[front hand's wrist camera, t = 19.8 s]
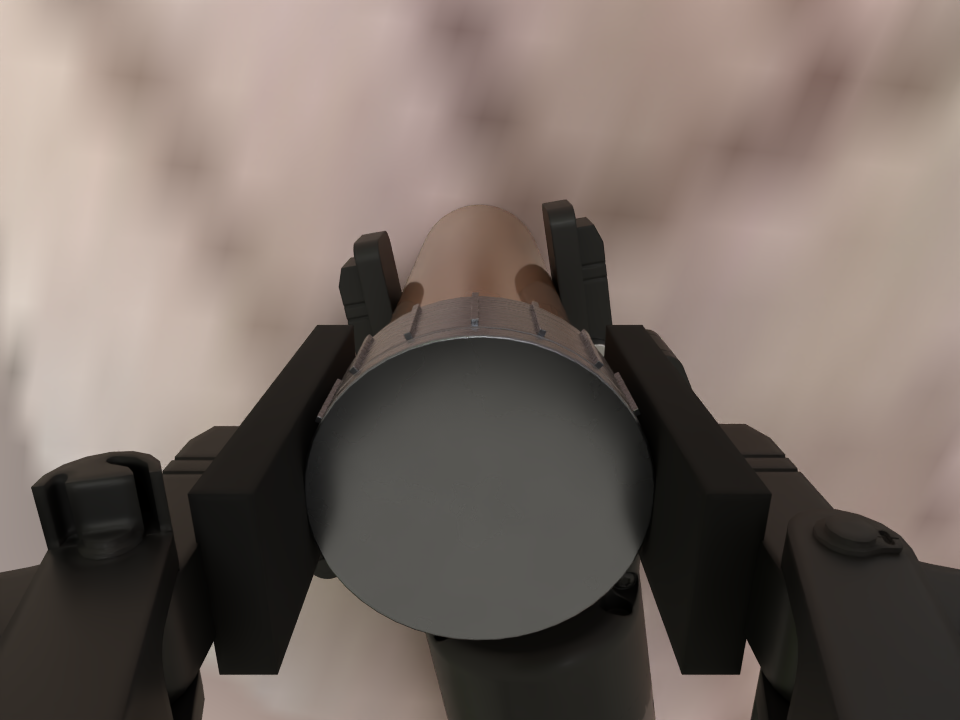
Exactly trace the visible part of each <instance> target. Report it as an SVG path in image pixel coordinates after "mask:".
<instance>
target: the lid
mask: <svg viewBox="0 0 960 720" xmlns="http://www.w3.org/2000/svg"><path fill="white" fill-rule="evenodd" d="M640 414H641V413H640V411H639V409H638V407H637V405H636V403H635V402H634V400H633V398H632V396H631V394H630V392H629V390H628V389H627V387H626V385H625V383H624V381H623V379H622V377H621V376H620V374H619V372H617V373H615V374H614V373H613V371H612V369H611V368H610V366H609V364H608V363H607V361H606V359H605V358H604V356H603V355H602V354H601V353H600V352H599V350H598V349H597V348H596V347H595V346H594V344H593V342H592V340H591V338H590V336H589V334H588V332H587V331H585V330H584V329H583V330H582V331H581V332H580V331H579V330H578V329H576V328H575V327H573V326H572V325H570V324H569V323H568V322H566V321H565V320H563V319H562V318H560V317H558V316H556V315H554V314H552V313H550V312H548V311H546V310H544V309H542V308H540V307H539V304H538V302H535V301H532V303H531V305H530V304H528V303H525V302H521V301H516V300H511V299H507V298H499V297H487V296H479V293H478V292H472V297H459V298H453V299H448V300H442V301H438V302H435V303H432V304H429V305H425V306H422V307H420V305H419V304H416V305H414V306H413V308H412V311H411V312H409V313H407V314H405V315H403V316H401V317H399V318H398V319H396V320H395V321H393V322H391V323H390V324H388V325H387V326H385V327H384V328H383V329H382V330H381V331H379V332H378V333H377V334H376V335H375V336H373V337H372V336H371V335H370V334H369V335H368V336H367V337H366V338H365V340H364V342H363V344H362V346H361V348H360V350H359V352H358V353H357V355H356V357H355V358H354V360H353V361H352V363H351V364H350V366H349V367H348V369H347V371H346V373H345V375H344V377H343V379H342V380H340V379H337V380H336V382H335V384H334V386H333V387H332V389H331V391H330V393H329V395H328V397H327V399H326V400H325V402H324V404H323V406H322V408H321V410H320V412H319V413H318V415H317V417H316V420H315V422H317V423H319V425H318V427H317V429H316V431H315V433H314V436H313V438H312V441H311V444H310V447H309V451H308V454H307V457H306V464H305V471H304V492H305V502H306V510H307V519H308V523H309V526H310V529H311V532H312V535H313V538H314V540H315V542H316V544H317V547H318V549H319V551H320V553H321V555H322V556H323V558H324V559H325V561H326V562H327V564H328V566H329V567H330V569H331V570H332V572H333V573H334V574H335V575H336V576H337V577H338V579H339V580H340V581H341V582H342V583H343V584H344V585H345V587H346V588H348V589H349V590H350V591H351V592H352V593H353V594H354V595H355V596H357V597H358V598H359V599H360V600H361V601H362V602H364V603H365V604H367V605H368V606H370V607H371V608H372V609H374V610H375V611H377V612H378V613H380V614H382V615H384V616H386V617H388V618H389V619H391V620H393V621H395V622H397V623H400V624H402V625H405V626H407V627H410V628H412V629H415V630H418V631H422V632H425V633H429V634H432V635H436V636H442V637H448V638H453V639H465V640H497V639H504V638H511V637H518V636H522V635H526V634H530V633H534V632H538V631H541V630H544V629H546V628H549V627H552V626H555V625H557V624H559V623H561V622H564V621H566V620H568V619H570V618H572V617H574V616H576V615H577V614H579V613H580V612H582V611H583V610H585V609H587V608H588V607H590V606H591V605H593V604H594V603H595V602H596V601H598V600H599V599H600V598H601V597H602V596H604V595H605V594H606V593H607V592H608V591H609V590H610V589H611V588H612V587H613V586H614V585H615V584H616V583H617V582H618V581H619V580H620V579H621V578H622V577H623V575H624V574H625V572H626V571H627V570H628V568H629V567H630V566H631V564H632V563H633V561H634V560H635V558H636V556H637V554H638V552H639V550H640V549H641V547H642V545H643V543H644V540H645V537H646V535H647V532H648V529H649V526H650V524H651V519H652V514H653V506H654V497H655V472H654V463H653V459H652V455H651V451H650V447H649V444H648V441H647V439H646V436H645V434H644V432H643V429H642V427H641V425H640V423H639V421H638V419H637V417H636V416H638V415H640Z"/></svg>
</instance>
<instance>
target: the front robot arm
mask: <svg viewBox="0 0 960 720" xmlns="http://www.w3.org/2000/svg"><path fill="white" fill-rule="evenodd" d="M355 357H356V355H355V340H354V326H353V325H317V326H316V327H315V329H314V330H313V331H312V333H311V334H310V335H309V336H308V338H307V339H306V340H305V342H304V343H303V344H302V346H301V347H300V348H299V349H298V351H297V352H296V353H295V355H294V356H293V357H292V359H291V360H290V361H289V362H288V364H287V365H286V366H285V368H284V369H283V370H282V372H281V373H280V374H279V375H278V377H277V378H276V379H275V381H274V382H273V383H272V385H271V386H270V387H269V388H268V390H267V391H266V392H265V394H264V395H263V396H262V398H261V399H260V400H259V401H258V403H257V404H256V405H255V407H254V408H253V409H252V411H251V412H250V413H249V414H248V416H247V417H246V418H245V420H244V421H243V422H242V424H241V425H240V426H214V427H212V428H211V429H209V430H207V431H205V432H204V433H202V434H200V435H198V436H197V437H195V438H193V439H191V440H190V441H189V442H188V443H187V444H186V445H185V446H184V447H183V448H182V450H181V451H180V452H179V453H178V454H177V455H176V456H175V460H172V461H171V462H170V463H169V464H168V465H167V466H166V468H165V469H164V470H163V473H162V470H161V464H160V461H159V460H157V459H156V458H155V457H153V456H152V455H150V454H145V453H140V452H135V451H125V452H108V453H103V454H98V455H93V456H87V457H84V458H81V459H79V460H76V461H73V462H70V463H67V464H64V465H62V466H60V467H58V468H56V469H54V470H53V471H51V472H49V473H47V474H45V475H44V476H42V477H41V478H40V479H39V480H38V481H37V482H36V483H35V484H34V485H33V486H32V487H31V489H32V492H33V496H34V500H35V503H36V507H37V511H38V514H39V518H40V522H41V525H42V529H43V533H44V536H45V540H46V544H47V547H48V551H47V553H46V555H45V556H44V558H43V560H42V562H41V564H40V565H36V566H32V567H28V568H22V569H17V570H12V571H6V572H1V573H0V720H202V714H203V707H204V700H205V699H204V691H203V684H202V679H201V674H200V667H201V665H202V663H203V661H204V659H205V657H206V655H207V653H208V651H209V649H210V647H211V645H212V643H213V641H214V646H215V651H216V657H217V663H218V668H219V674H220V675H278V672H279V669H280V666H281V664H282V661H283V658H284V655H285V653H286V650H287V647H288V644H289V642H290V639H291V636H292V633H293V630H294V628H295V625H296V622H297V619H298V617H299V614H300V611H301V608H302V605H303V603H304V600H305V597H306V594H307V592H308V589H309V586H310V583H311V580H312V578H313V575H314V572H315V569H316V567H317V564H318V561H319V558H320V555H321V553H320V551H319V549H318V547H317V544H316V542H315V540H314V538H313V535H312V532H311V529H310V526H309V523H308V519H307V510H306V502H305V492H304V471H305V464H306V457H307V454H308V451H309V447H310V444H311V441H312V438H313V436H314V433H315V431H316V429H317V427H318V425H319V423H317V422H315V420H316V417H317V415H318V413H319V412H320V410H321V408H322V406H323V404H324V402H325V400H326V399H327V397H328V395H329V393H330V391H331V389H332V387H333V386H334V384H335V382H336V380H337V379H340V380H342V379H343V377H344V375H345V373H346V371H347V369H348V367H349V366H350V364H351V363H352V361H353V360H354V358H355ZM604 358H605V359H606V361H607V363H608V364H609V366H610V368H611V369H612V371H613V373H614V374H615V373H617V372H619V374H620V376H621V377H622V379H623V381H624V383H625V385H626V387H627V389H628V390H629V392H630V394H631V396H632V398H633V400H634V402H635V403H636V405H637V407H638V409H639V411H640V413H641V414H640V415H638V416H636V417H637V419H638V421H639V423H640V425H641V427H642V429H643V432H644V434H645V436H646V439H647V441H648V444H649V447H650V451H651V455H652V459H653V463H654V472H655V497H654V506H653V514H652V519H651V524H650V526H649V529H648V532H647V535H646V537H645V540H644V543H643V545H642V547H641V549H640V550H639V552H638V554H639V557H640V559H641V562H642V565H643V568H644V570H645V573H646V576H647V579H648V582H649V584H650V587H651V590H652V593H653V595H654V598H655V601H656V604H657V607H658V609H659V612H660V615H661V618H662V620H663V623H664V626H665V629H666V632H667V634H668V637H669V640H670V643H671V645H672V648H673V651H674V654H675V657H676V659H677V662H678V665H679V668H680V670H681V673H682V675H740V671H741V666H742V660H743V655H744V649H745V643H746V639H747V641H748V643H749V645H750V647H751V649H752V651H753V653H754V655H755V657H756V659H757V661H758V662H759V664H760V666H761V668H760V674H759V679H758V684H757V689H756V695H755V700H754V705H753V710H752V716H751V720H960V569H954V568H949V567H944V566H938V565H933V564H928V563H924V562H920V561H918V559H917V557H916V555H915V553H914V552H913V550H912V548H911V547H910V546H909V545H908V544H907V543H906V541H905V540H904V539H903V538H902V537H901V536H900V535H899V534H897V533H896V532H894V531H892V530H891V529H889V528H888V527H886V526H885V525H883V524H881V523H879V522H876V521H874V520H872V519H869V518H867V517H864V516H862V515H859V514H855V513H850V512H846V511H841V510H837V509H833V508H832V506H831V505H830V504H829V503H828V502H827V501H826V500H825V499H824V497H823V496H822V495H821V494H820V493H819V492H818V491H817V490H816V489H815V487H814V486H813V485H812V484H811V483H810V482H809V481H808V480H807V479H806V477H805V476H804V475H803V474H802V473H801V472H798V471H797V467H796V466H795V465H794V464H793V463H792V462H791V461H790V460H789V458H785V454H784V453H783V452H782V451H781V449H780V448H779V447H778V446H777V445H776V444H775V443H774V442H773V441H772V439H771V438H769V437H767V436H766V435H764V434H762V433H760V432H759V431H757V430H755V429H753V428H752V427H750V426H748V425H746V424H718V423H717V422H716V420H715V419H714V418H713V416H712V415H711V414H710V412H709V411H708V410H707V409H706V407H705V406H704V405H703V403H702V402H701V401H700V399H699V398H698V397H697V396H696V394H695V393H694V392H693V390H692V389H691V388H690V386H689V385H688V384H687V383H686V381H685V380H684V379H683V377H682V376H681V375H680V373H679V372H678V371H677V370H676V368H675V367H674V366H673V364H672V363H671V362H670V360H669V359H668V358H667V357H666V355H665V354H664V353H663V351H662V350H661V349H660V347H659V346H658V345H657V344H656V342H655V341H654V340H653V338H652V337H651V336H650V334H649V333H648V332H647V331H646V329H645V328H644V327H643V325H606V335H605V349H604Z"/></svg>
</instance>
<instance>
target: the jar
mask: <svg viewBox="0 0 960 720" xmlns="http://www.w3.org/2000/svg"><path fill="white" fill-rule="evenodd" d="M472 292H478V293H479V296H487V297H499V298H507V299H511V300H516V301H521V302H525V303H528V304H530V305H531V303H532V301H535V302H538V304H539V307H540V308H542V309H544V310H546V311H548V312H550V313H552V314H554V315H556V316H558V317H560V318H562V319H563V320H565V321H566V322H568V323H569V324H570V325H571V323H570V321H569V319H568V316H567V314H566V312H565V310H564V307H563V305H562V303H561V300H560V298H559V296H558V293H557V291H556V289H555V286H554V284H553V282H552V280H551V277H550V275H549V273H548V270H547V268H546V266H545V263H544V261H543V259H542V256H541V254H540V252H539V249H538V247H537V245H536V243H535V240H534V238H533V236H532V234H531V233H530V231H529V230H528V228H527V227H526V226H525V225H524V224H523V223H522V222H521V221H520V220H519V219H518V218H517V217H515V216H514V215H513V214H511V213H509V212H507V211H505V210H503V209H500V208H497V207H493V206H488V205H472V206H466V207H463V208H459V209H457V210H455V211H452V212H451V213H449V214H447V215H446V216H444V217H443V218H442V219H441V220H439V221H438V222H437V223H436V225H435V226H434V227H433V228H432V229H431V231H430V232H429V234H428V236H427V238H426V240H425V242H424V244H423V246H422V249H421V251H420V253H419V255H418V258H417V260H416V262H415V265H414V267H413V269H412V271H411V274H410V276H409V278H408V281H407V283H406V285H405V287H404V290H403V292H402V294H401V297H400V299H399V301H398V303H397V306H396V308H395V310H394V313H393V315H392V317H391V319H390V322H389V324H390V323H391V322H393V321H395V320H396V319H398V318H399V317H401V316H403V315H405V314H407V313H409V312H411V311H412V308H413V306H414V305H416V304H419V305H420V307H422V306H425V305H429V304H432V303H435V302H438V301H442V300H448V299H453V298H459V297H472Z"/></svg>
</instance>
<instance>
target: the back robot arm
mask: <svg viewBox="0 0 960 720" xmlns="http://www.w3.org/2000/svg"><path fill="white" fill-rule="evenodd" d="M542 211H543V219H544V226H545V233H546V241H547V248H548V255H549V262H550V269H551V277H552V282H553V284H554V286H555V289H556V291H557V293H558V296H559V298H560V300H561V303H562V305H563V307H564V310H565V312H566V314H567V316H568V319H569V321H570V323H571V325H572V326H573V327H575V328H576V329H578V330H579V331H580V332H581V331H582V330H583V329H584V330H585V331H587V332H588V334H589V336H590V338H591V340H592V342H593V344H594V346H595V347H596V348H597V349H598V350H599V352H600V353H601V354H602V355H603V356H604V349H605V335H606V325H612V318H611V309H610V300H609V290H608V281H607V272H606V264H605V254H604V245H603V241H602V239H601V237H600V235H599V233H598V232H597V230H596V228H595V226H594V225H593V224H592V223H591V222H590V221H589V220H588V219H587V218H586V217H584V218H578V219H576V218H575V213H574V209H573V206H572V205H571V204H570V203H569V202H568V201H567V200H560V201H555V202H549V203H543V204H542ZM339 290H340V294H341V297H342V301H343V305H344V309H345V313H346V317H347V319H348V325H353V326H354V340H355V352H356V355H357V353H358V352H359V350H360V348H361V346H362V344H363V342H364V340H365V338H366V337H367V336H368V335H369V334H370V335H371V336H372V337H373V336H375V335H376V334H377V333H378V332H379V331H381V330H382V329H383V328H384V327H385V326H387V325H388V324H389V322H390V319H391V317H392V315H393V313H394V310H395V308H396V306H397V303H398V301H399V299H400V297H401V294H402V292H401V287H400V283H399V278H398V274H397V270H396V265H395V261H394V256H393V252H392V247H391V243H390V239H389V236H388V234H387V232H386V231H382V232H376V233H371V234H365V235H362V236H361V237H360V238H359V239H358V240H357V241H356V242H355V243H354V257H352V258H350V259H349V260H348V261H347V263H346V264H345V265H344V266H343V267H342V268H341V275H340V282H339ZM646 331H647V332H648V333H649V334H650V336H651V337H652V338H653V340H654V341H655V342H656V344H657V345H658V346H659V347H660V349H661V350H662V351H663V353H664V354H665V355H666V357H667V358H668V359H669V360H670V362H671V363H672V364H673V366H674V367H675V368H676V370H677V371H678V372H679V373H680V375H681V376H682V377H683V379H684V380H685V381H686V383H687V384H688V385H689V386H690V388H691V385H690V383H689V380H688V378H687V375H686V373H685V370H684V367H683V365H682V364H681V362H680V361H679V360H678V359H677V357H676V356H675V355H674V354H673V352H672V351H671V350H670V349H669V347H668V346H667V345H666V344H665V342H664V341H663V340H662V339H661V338H660V336H659V335H658V334H657V333H655V332H654V331H651V330H647V329H646ZM691 389H692V388H691ZM640 560H641V559H640V557H639V554H637V556H636V558H635V560H634V561H633V563H632V564H631V566H630V567H629V568H628V570H627V571H626V572H625V574H624V575H623V577H622V578H621V579H620V580H619V581H618V582H617V583H616V584H615V585H614V586H613V587H612V588H611V589H610V590H609V591H608V592H607V593H606V594H605V595H604V596H602V597H601V598H600V599H599V600H598V601H596V602H595V603H594V604H593V605H591V606H590V607H588V608H587V609H585V610H583V611H582V612H580V613H579V614H577V615H576V616H574V617H572V618H570V619H568V620H566V621H564V622H561V623H559V624H557V625H555V626H552V627H549V628H546V629H544V630H541V631H538V632H534V633H530V634H526V635H522V636H518V637H511V638H504V639H497V640H465V639H453V638H448V637H442V636H436V635H432V634H429V633H426V636H427V640H428V644H429V648H430V651H431V655H432V659H433V663H434V667H435V671H436V675H437V679H438V683H439V687H440V690H441V694H442V698H443V702H444V706H445V709H446V713H447V717H448V720H655V711H654V702H653V692H652V683H651V674H650V666H649V657H648V647H647V638H646V629H645V620H644V611H643V602H642V592H641V583H640V574H639V564H640ZM314 575H315V576H317V577H320V578H323V579H331V578H335V577H337V576H336V575H335V574H334V573H333V572H332V570H331V569H330V567H329V566H328V564H327V562H326V561H325V559H324V558H323V556H322V555H320V558H319V561H318V564H317V567H316V569H315V572H314Z"/></svg>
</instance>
